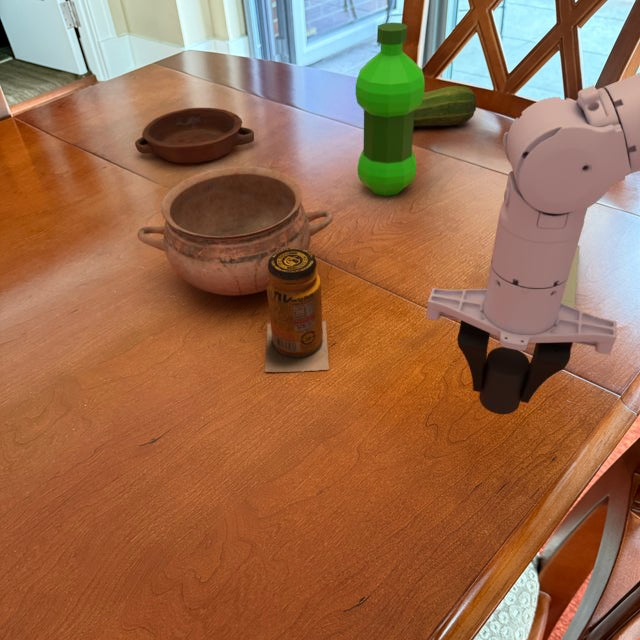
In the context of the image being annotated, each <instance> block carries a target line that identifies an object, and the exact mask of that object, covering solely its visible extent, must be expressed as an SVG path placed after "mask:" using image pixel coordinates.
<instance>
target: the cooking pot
mask: <svg viewBox="0 0 640 640" xmlns="http://www.w3.org/2000/svg"><path fill="white" fill-rule="evenodd" d="M303 198H304V197H303V190H302V188H301V186H300V184H299V183H298V182H297V181H296V180H295V179H294V178H292V177H291V176H290V175H287V174H285V173H283V172H281V171H277V170H274V169H270V168H265V167H258V166H230V167H223V168H217V169H212V170H209V171H205V172H200V173H198V174H196V175H193V176H191V177H189V178H186V179H185V180H183V181H181V182H179V183H178V184H176V185H175V186H174V187H172V188H171V190H169V191H168V192H167V193H166V195H165V196H164V197H163V199H162V203H161V205H160V206H161V215H162V216H163V219H164V220H165V221H164V222H165V223H164V225H161V226H143V227H141V228H140V229H138V231H137V239H138V240H139V241H140V242H141V243H144V245H145V244H146V245H147V246H150V247H152V248H154V249H157V250H159V251H162V252H164V253H165V255H166V258H167V261H168V263H169V264H170V266H171V267H172V269H173V270H174V271H175V272H176V274H178V276H179V277H180V278H182V279H183V280H184V281H185V282H187V283H188V284H189V285H190V286H193V287H195V288H197V289H198V290H201V291H204V292H208V293H210V294H214V295H219V296H231V297H233V296H245V295H252V294H256V293H260V292H263V291H267V280H268V278H269V276H268V272H269V270H268V261H269V259H270V258H271V256H272V255H273V254H274V253H276V252H278V251H280V250H283V249H286V248H300V249H304V250H307V251H309V247H310V245H311V237H313V236H314V235H316V234H318V233H320V232H321V231H322V230H324V229H326V228H327V227H328V226H329V225H330V224H331V223H333V220H334V215H333V213H332V212H331V211H330V210H327V209H323V210H317V211H308V212H306V210H305V208H304V205H303V203H302V202H303V200H304V199H303ZM321 218H324V219H323V220H322V221H320V222H319V223H316V224H311V222H312V221H315V220H317V219H321ZM147 234H149V235H150V234H156V235H157V234H159V235H163V238H157V239H155V238H153V237H149V236H147Z"/></svg>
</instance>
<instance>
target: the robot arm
mask: <svg viewBox="0 0 640 640" xmlns="http://www.w3.org/2000/svg"><path fill="white" fill-rule="evenodd" d="M577 97H578V98H577V99H576V100H575V99H573V98H569V97H565V98H564V99H562V98H561V97H560V96H555V97H548V98H544V99H541V100H539V101H535V102H534V103H532V104H530V105H529V106H528V107H526V108H525V109H523V110H522V111H521V112H520V113H521V115H520V116H519V117H516V118H515V119H514V120H513V122H512V124H511V125H510V128H509V130H508V131H506V132H504V134H503V138H502V144H503V151H504V153H505V156H506V159H507V161H508V162H509V164H510V166H511V171H510V172H509V173H508V175H507V181H506V187H505V190H504V194H503V202H502V204H501V207H500V209H499V215H498V219H497V226H496V232H495V237H494V243H493V247H492V254H491V259H490V266H489V271H488V276H487V283H486V288H471V289H470V288H469V289H464V288H463V289H448V288H447V289H445V288H438V287H437V288H436V287H432V289H431V291H430V294H429V297H428V300H427V306H426V314H425V315H426V319H427V320H432V321H439V320H440V319H441V318H446V319H452V320H456V321H460V325H459V330H458V333H457V338H456V340H457V345H458V348H459V350H460V352H461V353H462V355H463V356H464V358H465V360H466V362H467V364H468V368H469V371H470V374H471V380H472V391H473V392H477V393H480V392H481V387H482V382H483V375H484V369H485V364H486V359H487V355H488V347H489V343H490V342H489V341H490V337H491V335H493V336H495V337H497V338H499V341H498V344H499V345H500V347H505V348H510V349H515V350H519V351H521V352H522V351H525V350H527V349H528V345H529V344H535V345H534V348H533V353H532V356H531V359H530V361H529V362H530V367H529V371H528V374H527V378H526V382H525V385H524V388H523V392H522V396H521V401H520V403H526V404H529V403H530V400H531V399H532V397H533V396H534V395H535V393H536V392H537V391H538V390H539V388H540V387H541V386H542V385H543V384H544V383H545V382H546V381H547V380H548V379H550V378H551V377H553V376H554V375H556V374H557V373H559V372H561V371H563V370H564V369H565V368H566V367H567V366H568V364H569V362H570V359H571V351H572V347H573V343H574V344H578V345H579V344H580V345H584V346H590V347H594V351H595V353H598V354H603V355H606V356H607V355H608V356H609V355H611V352H612V351H613V347H614V345H615V342H616V339H617V335H618V334H617V321H616V320H612V319H606V318H603V317H599V316H597V315H594V314H591V313H589V312H587V311H584V310H580V309H579V308H576V307H575V308H573V307H571V306H568V305H566V304H563V303H561V302H562V298H563V295H564V291H565V288H566V284H567V281H568V277H569V273H570V270H571V266H572V263H573V259H574V256H575V252H576V249H577V246H578V245H579V241H580V238H581V235H582V233H583V228H584V224H585V217H586V214H587V212H588V208H590V207H591V206H594V205H595V204H596V203H597V202H599V201H600V200H601V199H602V198H603V197H604V196H605V195H606V193H607V192H608V191H609V190H610V189H611V188H612V187H613V186H614V185H615V184H617V183H619V182H622V181H624V180H626V176H629V175H631V174H635V173H637V172H639V171H640V72H638V73H635V74H633V75H630V76H627V77H626V78H623V79H621V80H618V81H615V82H613V83H610V84H608V85H605V86H603V87H600V88H596V86H595V85H590V86H588V87H585V88H582V89H580V90H578V92H577Z"/></svg>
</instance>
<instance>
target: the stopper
mask: <svg viewBox="0 0 640 640" xmlns="http://www.w3.org/2000/svg"><path fill="white" fill-rule="evenodd" d="M530 362H531V361H530V360H529V358H528V356H527V355H526V354H525V353H524V352H522V351H520V350H515V349H510V348H505V347H502V346H499V347H496V348H493V349H491V350H490V351H489V352H488V353H487V359H486V364H485V369H484V375H483V382H482V387H481V392H479V395H478V396H479V398H478V399H479V402H480V404H481V405H482V406H483V408H484V409H485V410H487V411H488V412H491V413H493V414H496V415H509V414H512V413H515V412H516V411H517V410H518V409H519V406H520V404H521V396H522V392H523V388H524V385H525V382H526V378H527V374H528V371H529V367H530Z"/></svg>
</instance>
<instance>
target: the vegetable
mask: <svg viewBox="0 0 640 640" xmlns="http://www.w3.org/2000/svg"><path fill="white" fill-rule="evenodd" d="M476 96H477V95H476V94H475V93H474V91H473V90H472V89H471V88H470V87H467V86H462V85H450V86H446V87H443V88H438V89H435V90H431V91H430V90H429V91H427V92H424V97H423V100H422V104H421V105H420V106H419V107H418V108H417V109H415V110H414V124H413V128H423V127H425V128H426V127H427V128H432V127H451V126H457V125H460V124H465V123H467V122H468V121H471V119H472V118H473V117H474V115H475V112H476V110H477V102H478V101H477V97H476Z"/></svg>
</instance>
